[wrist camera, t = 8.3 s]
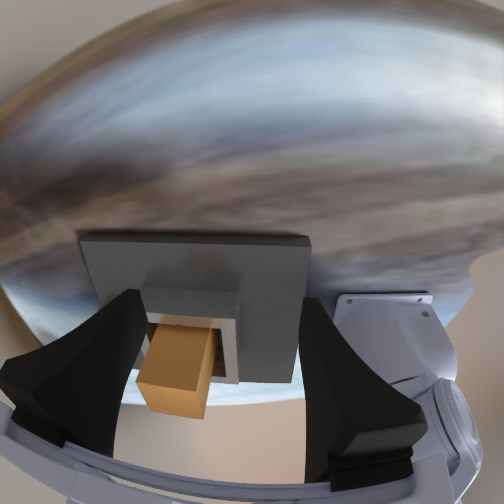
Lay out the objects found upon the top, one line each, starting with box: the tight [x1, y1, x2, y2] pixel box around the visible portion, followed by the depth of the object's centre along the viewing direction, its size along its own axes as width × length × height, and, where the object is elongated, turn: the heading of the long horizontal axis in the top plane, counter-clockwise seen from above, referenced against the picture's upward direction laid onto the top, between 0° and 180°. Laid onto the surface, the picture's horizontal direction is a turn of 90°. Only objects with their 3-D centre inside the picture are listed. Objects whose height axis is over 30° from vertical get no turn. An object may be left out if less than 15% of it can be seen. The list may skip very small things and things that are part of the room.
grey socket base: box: [80, 233, 311, 384], centre depth 23 cm, size 18×16×4 cm
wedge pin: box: [135, 323, 218, 419], centre depth 20 cm, size 4×4×8 cm
